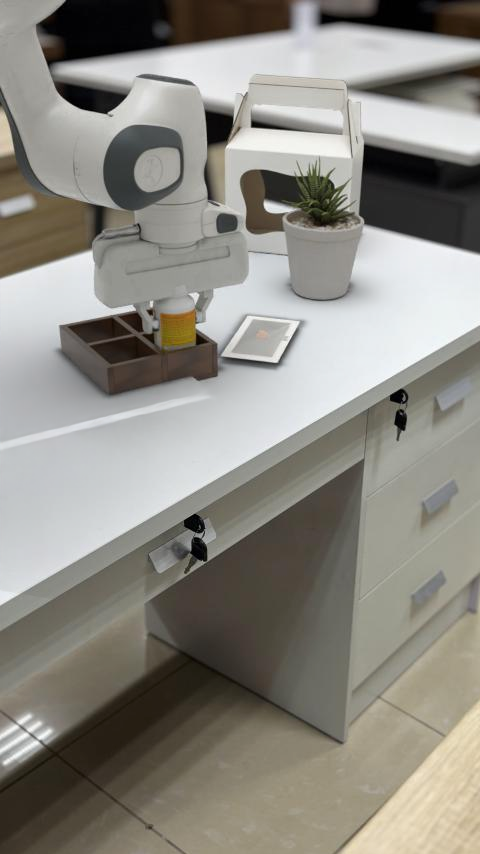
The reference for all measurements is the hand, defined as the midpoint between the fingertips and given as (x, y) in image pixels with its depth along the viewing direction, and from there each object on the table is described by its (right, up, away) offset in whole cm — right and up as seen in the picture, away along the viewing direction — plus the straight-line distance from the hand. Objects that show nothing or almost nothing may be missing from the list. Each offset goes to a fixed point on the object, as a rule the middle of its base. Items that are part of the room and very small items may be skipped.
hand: (175, 326), depth 122 cm
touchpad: (+11, -1, +11) cm, 16 cm away
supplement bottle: (0, -3, +2) cm, 4 cm away
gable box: (+16, +24, +50) cm, 58 cm away
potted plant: (+20, +11, +31) cm, 38 cm away
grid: (-5, -4, +4) cm, 8 cm away
